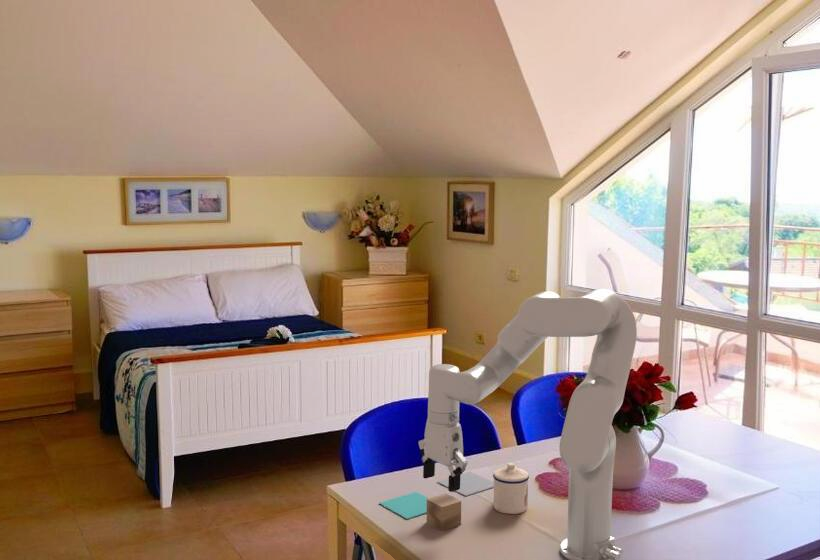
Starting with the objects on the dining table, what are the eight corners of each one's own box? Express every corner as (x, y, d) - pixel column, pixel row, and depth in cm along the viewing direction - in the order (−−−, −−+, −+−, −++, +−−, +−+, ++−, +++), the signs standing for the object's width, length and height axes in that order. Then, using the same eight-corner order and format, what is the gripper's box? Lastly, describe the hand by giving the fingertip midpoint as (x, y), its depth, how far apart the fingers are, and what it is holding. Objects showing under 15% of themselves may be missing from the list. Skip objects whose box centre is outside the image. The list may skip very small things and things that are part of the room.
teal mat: (444, 507, 214) (444, 506, 214) (407, 519, 206) (407, 518, 206) (415, 492, 223) (415, 491, 223) (379, 503, 216) (379, 502, 216)
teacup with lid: (533, 513, 210) (534, 469, 208) (498, 516, 208) (499, 471, 207) (518, 494, 222) (518, 452, 220) (485, 497, 220) (485, 455, 218)
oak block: (461, 524, 204) (461, 501, 203) (441, 530, 200) (442, 507, 200) (445, 516, 209) (445, 493, 208) (426, 522, 205) (426, 499, 204)
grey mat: (499, 485, 228) (499, 484, 228) (465, 496, 221) (465, 495, 221) (470, 472, 237) (470, 471, 237) (437, 482, 230) (437, 481, 230)
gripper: (479, 423, 196) (476, 492, 199) (433, 404, 210) (431, 469, 212) (454, 428, 192) (452, 499, 194) (409, 409, 205) (407, 475, 208)
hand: (441, 483), depth 203 cm, fingers open, 9 cm apart
